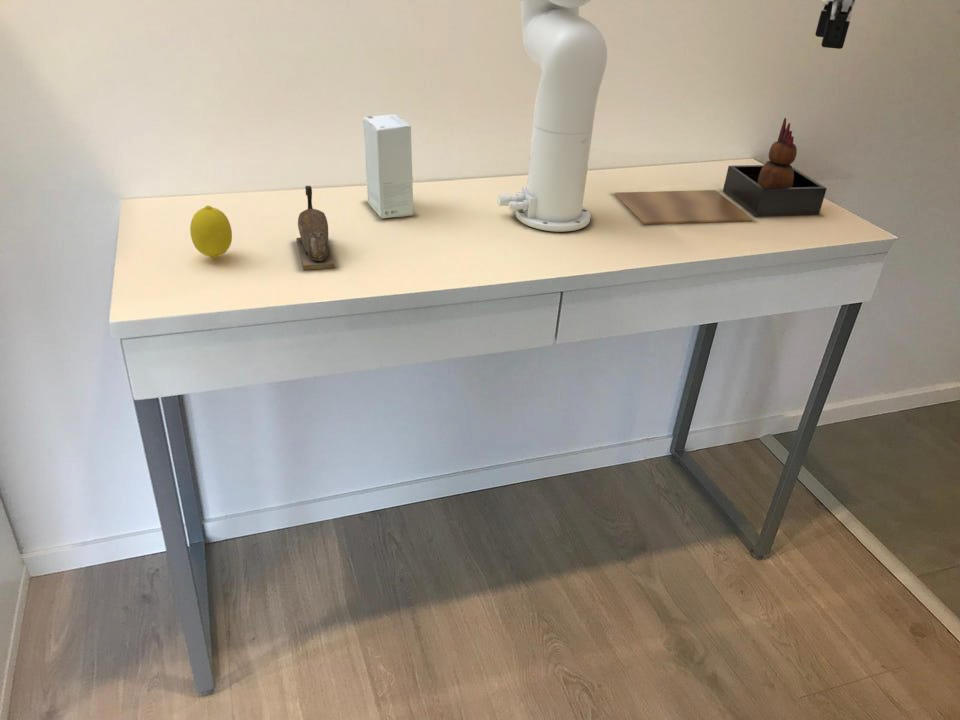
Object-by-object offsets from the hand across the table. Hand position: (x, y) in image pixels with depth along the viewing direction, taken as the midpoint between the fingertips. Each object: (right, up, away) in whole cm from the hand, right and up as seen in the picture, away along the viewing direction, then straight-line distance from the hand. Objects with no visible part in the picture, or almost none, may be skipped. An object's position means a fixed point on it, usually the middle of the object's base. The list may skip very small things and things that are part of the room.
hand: (828, 42), depth 130 cm
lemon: (-95, -37, -15) cm, 103 cm away
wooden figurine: (-3, -23, +17) cm, 29 cm away
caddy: (-3, -23, +17) cm, 29 cm away
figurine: (-82, -35, -11) cm, 90 cm away
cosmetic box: (-72, -27, +4) cm, 77 cm away
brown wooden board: (-21, -25, +12) cm, 35 cm away
